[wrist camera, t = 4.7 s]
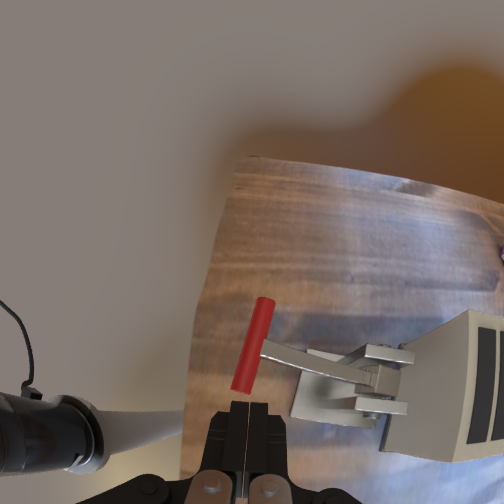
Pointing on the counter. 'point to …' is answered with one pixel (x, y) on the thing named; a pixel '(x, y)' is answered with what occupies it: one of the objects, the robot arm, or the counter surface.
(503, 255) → the figurine
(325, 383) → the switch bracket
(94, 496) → the robot arm
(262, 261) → the counter surface
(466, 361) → the toaster
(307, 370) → the switch lever
